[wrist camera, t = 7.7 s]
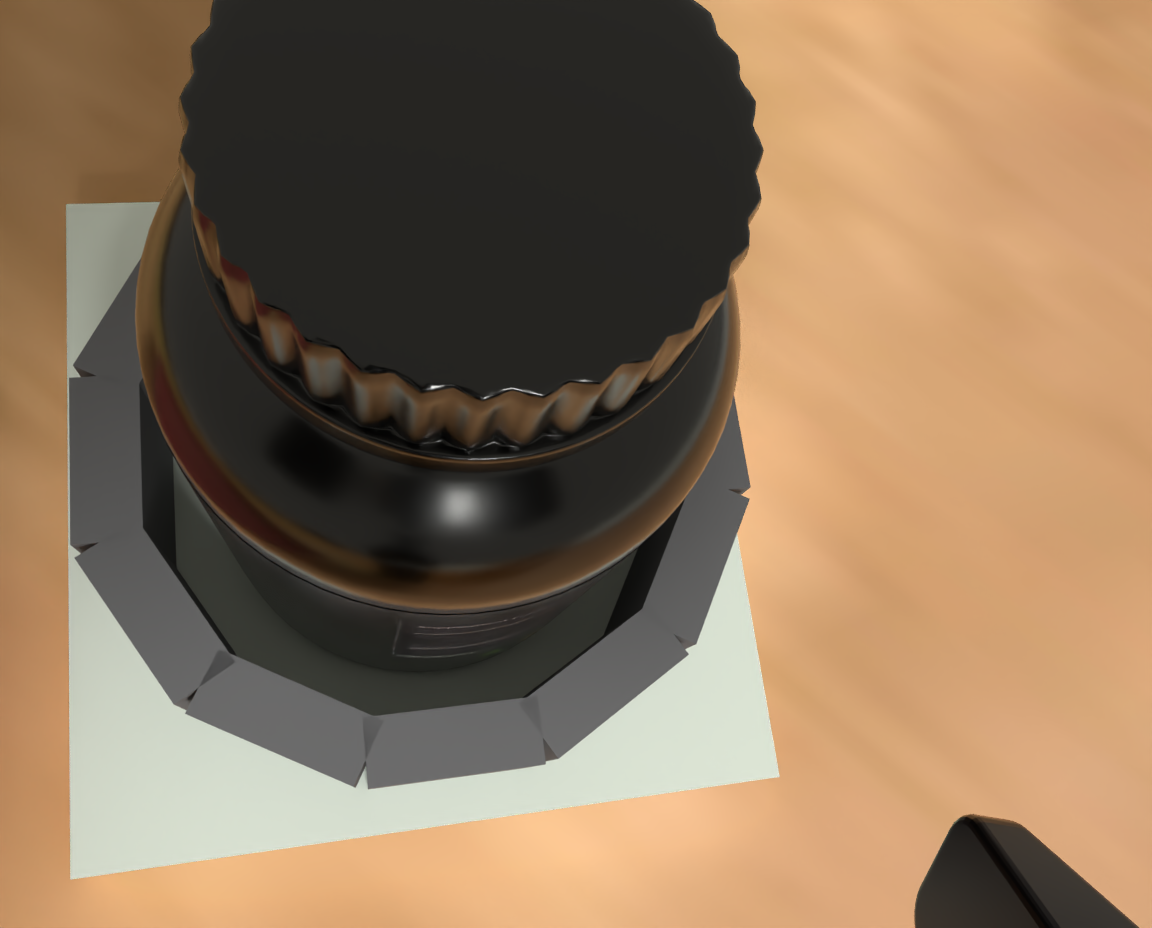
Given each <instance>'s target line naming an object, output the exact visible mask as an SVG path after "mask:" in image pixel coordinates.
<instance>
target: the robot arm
mask: <svg viewBox="0 0 1152 928" xmlns="http://www.w3.org/2000/svg"><path fill="white" fill-rule="evenodd" d="M915 928H1139V927H1138V926H1137V925H1136V924H1134V923H1133V922H1132V921H1131V920H1130V919H1129V918H1128V917H1126V916H1125V915H1124V914H1123V913H1122V912H1121V911H1120V910H1118V909H1117V908H1116V907H1115V906H1114V905H1113V904H1112V903H1110V902H1109V901H1108V900H1107V899H1106V898H1105V897H1104V896H1102V895H1101V894H1100V893H1099V892H1098V891H1097V890H1096V889H1094V888H1093V887H1092V886H1091V885H1090V884H1089V883H1088V882H1086V881H1085V880H1084V879H1083V878H1082V877H1081V876H1080V875H1078V874H1077V873H1076V872H1075V871H1074V870H1073V869H1072V868H1070V867H1069V866H1068V865H1067V864H1066V863H1065V862H1064V861H1062V860H1061V859H1060V858H1059V857H1058V856H1057V855H1056V854H1055V853H1053V852H1052V851H1051V850H1050V849H1049V848H1048V847H1047V846H1045V845H1044V844H1043V843H1042V842H1041V841H1040V840H1039V839H1037V838H1036V837H1035V836H1034V835H1033V834H1032V833H1031V832H1029V831H1028V830H1027V829H1026V828H1025V827H1023V826H1022V825H1020V824H1018V823H1016V822H1014V821H1010V820H1005V819H999V818H993V817H986V816H980V815H974V814H970V815H964V816H962V817H960V818H959V819H958V820H957V821H955V822H954V824H953V825H952V827H951V828H950V830H949V832H948V834H947V836H946V838H945V840H944V842H943V844H942V846H941V848H940V849H939V851H938V853H937V855H936V857H935V859H934V861H933V863H932V865H931V867H930V869H929V871H928V873H927V875H926V877H925V879H924V881H923V882H922V884H921V886H920V889H919V891H918V894H917V898H916V903H915Z"/></svg>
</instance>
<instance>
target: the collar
mask: <svg viewBox="0 0 1152 928" xmlns="http://www.w3.org/2000/svg"><path fill="white" fill-rule="evenodd" d="M140 262H141V258H140V260H139V262H138V263H137V265H136V266H135V268H134V269H133V271H132V273H131V274H130V276H129V277H128V279H127V280H126V282H125V284H124V285H123V287H122V288H121V290H120V292H119V293H118V295H117V296H116V298H115V299H114V301H113V303H112V304H111V306H110V307H109V309H108V310H107V312H106V314H105V315H104V317H103V318H102V320H101V321H100V323H99V325H98V326H97V328H96V329H95V331H94V332H93V334H92V336H91V337H90V339H89V340H88V342H87V343H86V345H85V347H84V348H83V350H82V351H81V353H80V355H79V356H78V358H77V359H76V361H75V362H74V364H73V366H74V368H75V369H76V371H77V372H78V374H79V375H80V377H72V378H69V445H70V545H71V546H72V547H73V548H75V549H76V550H77V551H78V552H79V553H81V554H80V555H78V556H76V557H75V560H76V561H77V563H78V564H79V566H80V567H81V569H82V570H83V572H84V573H85V575H86V576H87V577H88V579H89V580H90V582H91V583H92V585H93V586H94V588H95V589H96V591H97V592H98V594H99V595H100V597H101V598H102V600H103V601H104V603H105V604H106V605H107V607H108V608H109V610H110V611H111V613H112V614H113V616H114V617H115V619H116V620H117V622H118V623H119V625H120V626H121V628H122V629H123V631H124V632H125V634H126V635H127V636H128V638H129V639H130V641H131V642H132V644H133V645H134V647H135V648H136V650H137V651H138V653H139V654H140V656H141V657H142V659H143V660H144V662H145V663H146V664H147V666H148V667H149V669H150V670H151V672H152V673H153V675H154V676H155V678H156V679H157V681H158V682H159V684H160V685H161V687H162V688H163V690H164V691H165V693H166V694H167V695H168V697H169V698H170V700H171V701H172V703H173V704H174V705H176V706H178V707H180V708H182V709H184V710H186V712H185V714H187V715H189V716H191V717H193V718H196V719H198V720H200V721H202V722H205V723H207V724H209V725H212V726H214V727H216V728H218V729H221V730H223V731H225V732H228V733H230V734H232V735H235V736H237V737H239V738H242V739H244V740H246V741H248V742H251V743H253V744H255V745H258V746H260V747H262V748H265V749H267V750H269V751H272V752H274V753H276V754H278V755H281V756H283V757H285V758H288V759H290V760H292V761H295V762H297V763H299V764H302V765H304V766H306V767H309V768H311V769H313V770H315V771H318V772H320V773H322V774H325V775H327V776H329V777H332V778H334V779H336V780H339V781H341V782H343V783H345V784H348V785H350V786H352V787H355V788H356V786H357V784H358V782H359V780H360V778H361V775H362V773H363V771H364V769H365V767H366V771H367V784H368V789H376V788H383V787H390V786H398V785H405V784H413V783H420V782H427V781H435V780H442V779H449V778H457V777H464V776H471V775H479V774H486V773H493V772H501V771H508V770H515V769H522V768H528V767H534V766H540V765H545V764H546V761H550V760H556V759H559V758H560V757H562V756H563V755H564V754H565V753H567V752H568V751H569V750H570V749H572V748H573V747H574V746H575V745H577V744H578V743H579V742H580V741H582V740H583V739H584V738H585V737H587V736H588V735H589V734H590V733H592V732H593V731H594V730H595V729H597V728H598V727H599V726H600V725H602V724H603V723H604V722H605V721H607V720H608V719H609V718H610V717H612V716H613V715H614V714H615V713H617V712H618V711H619V710H620V709H622V708H623V707H624V706H625V705H627V704H628V703H629V702H630V701H632V700H633V699H634V698H635V697H637V696H638V695H639V694H640V693H642V692H643V691H644V690H645V689H647V688H648V687H649V686H650V685H652V684H653V683H654V682H655V681H657V680H658V679H659V678H660V677H662V676H663V675H664V674H665V673H667V672H668V671H669V670H670V669H671V668H673V667H674V666H675V665H676V664H678V663H679V662H680V661H681V660H683V659H684V658H685V657H686V656H688V655H689V654H688V652H687V651H686V650H685V649H687V648H689V647H691V646H693V645H696V644H697V641H698V638H699V636H700V633H701V630H702V627H703V625H704V622H705V619H706V617H707V614H708V611H709V608H710V606H711V603H712V600H713V597H714V595H715V592H716V589H717V587H718V584H719V581H720V578H721V576H722V573H723V570H724V567H725V565H726V562H727V559H728V556H729V554H730V551H731V548H732V546H733V543H734V540H735V537H736V535H737V532H738V529H739V526H740V524H741V521H742V518H743V515H744V513H745V510H746V507H747V505H748V502H749V499H748V498H746V497H744V496H742V495H741V494H743V493H744V492H745V491H746V490H748V489H749V488H750V482H749V476H748V471H747V465H746V460H745V454H744V449H743V443H742V438H741V432H740V427H739V421H738V416H737V410H736V404H735V399H734V395H733V400H732V404H731V407H730V411H729V414H728V417H727V420H726V424H725V427H724V430H723V432H722V434H721V437H720V439H719V441H718V444H717V446H716V448H715V451H714V453H713V455H712V456H711V458H710V460H709V462H708V464H707V465H706V467H705V469H704V471H703V473H702V474H701V476H700V478H699V479H698V480H697V482H696V483H695V485H694V486H693V487H692V489H691V490H690V492H689V493H688V494H687V496H686V497H685V499H684V500H683V501H682V503H681V504H680V505H679V506H678V507H677V508H676V510H675V511H674V512H673V513H672V514H671V515H670V516H669V518H668V519H667V520H666V521H665V522H664V523H663V524H662V526H661V527H660V528H659V529H658V530H657V531H656V532H655V533H654V534H653V535H652V536H651V537H650V538H648V539H647V540H646V541H645V542H644V543H643V544H642V545H641V546H640V547H639V548H638V550H637V552H636V555H635V557H634V560H633V562H632V565H631V567H630V570H629V572H628V575H627V577H626V580H625V582H624V585H623V587H622V590H621V592H620V595H619V597H618V600H617V602H616V605H615V607H614V610H613V612H612V615H611V617H610V620H609V622H608V625H607V627H606V630H605V632H604V635H603V636H602V637H601V638H599V639H598V640H597V641H595V642H594V643H593V644H591V645H590V646H589V647H588V648H586V649H585V650H584V651H582V652H581V653H580V654H578V655H577V656H576V657H575V658H573V659H572V660H571V661H569V662H568V663H567V664H565V665H564V666H563V667H561V668H560V669H559V670H558V671H556V672H555V673H554V674H552V675H551V676H550V677H548V678H547V679H546V680H545V681H543V682H542V683H541V684H539V685H538V686H537V687H535V688H534V689H533V690H532V691H530V692H529V693H528V694H526V695H525V696H524V697H522V698H518V699H510V700H502V701H494V702H486V703H477V704H469V705H461V706H453V707H445V708H437V709H428V710H420V711H412V712H404V713H396V714H387V715H379V716H372V715H370V714H367V713H365V712H363V711H361V710H358V709H356V708H354V707H351V706H349V705H347V704H345V703H342V702H340V701H338V700H335V699H333V698H331V697H328V696H326V695H324V694H322V693H319V692H317V691H315V690H312V689H310V688H308V687H306V686H303V685H301V684H299V683H296V682H294V681H292V680H290V679H287V678H285V677H283V676H280V675H278V674H276V673H274V672H271V671H269V670H267V669H264V668H262V667H260V666H257V665H255V664H253V663H251V662H248V661H246V660H244V659H241V658H239V657H238V656H237V655H236V653H235V652H234V650H233V649H232V647H231V646H230V644H229V643H228V642H227V640H226V639H225V637H224V636H223V634H222V633H221V631H220V630H219V629H218V627H217V626H216V624H215V623H214V621H213V620H212V618H211V617H210V616H209V614H208V613H207V611H206V610H205V608H204V607H203V605H202V604H201V603H200V601H199V600H198V598H197V597H196V595H195V594H194V592H193V591H192V590H191V588H190V587H189V585H188V584H187V582H186V581H185V579H184V578H183V577H182V575H181V574H180V572H179V571H178V569H177V565H176V535H175V505H174V475H173V455H172V453H171V451H170V449H169V447H168V446H167V443H166V441H165V439H164V436H163V434H162V432H161V429H160V427H159V424H158V422H157V420H156V417H155V415H154V412H153V410H152V407H151V404H150V400H149V397H148V394H147V390H146V387H145V384H144V380H143V377H142V372H141V367H140V361H139V355H138V350H137V340H136V325H135V307H136V288H137V281H138V275H139V268H140Z"/></svg>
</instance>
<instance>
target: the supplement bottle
mask: <svg viewBox="0 0 1152 928" xmlns="http://www.w3.org/2000/svg"><path fill="white" fill-rule="evenodd" d="M190 65H191V74H192V77H191V79H190V80H189V82H188V83H187V84H186V85H185V87H184V89H183V91H182V93H181V95H180V97H179V105H178V109H179V114H180V118H181V122H182V126H183V129H184V133H185V134H184V136H183V140H182V144H181V148H180V152H179V166H180V168H179V169H178V171H177V172H176V174H175V175H174V177H173V179H172V181H171V183H170V184H169V186H168V188H167V190H166V192H165V194H164V196H163V198H162V199H161V201H160V203H159V206H158V208H157V211H156V213H155V215H154V218H153V220H152V223H151V225H150V228H149V231H148V235H147V238H146V242H145V245H144V249H143V252H142V256H141V262H140V268H139V275H138V281H137V288H136V307H135V325H136V340H137V350H138V355H139V361H140V367H141V372H142V377H143V380H144V384H145V387H146V390H147V394H148V397H149V400H150V404H151V407H152V410H153V412H154V415H155V417H156V420H157V422H158V424H159V427H160V429H161V432H162V434H163V436H164V439H165V441H166V443H167V446H168V447H169V449H170V451H171V453H172V455H173V457H174V458H175V460H176V462H177V464H178V466H179V467H180V469H181V471H182V473H183V475H184V476H185V478H186V480H187V481H188V483H189V484H190V486H191V488H192V489H193V491H194V493H195V494H196V496H197V497H198V499H199V501H200V502H201V504H202V505H203V507H204V509H205V510H206V512H207V513H208V515H209V517H210V518H211V520H212V522H213V523H214V525H215V526H216V528H217V530H218V531H219V533H220V534H221V536H222V538H223V539H224V541H225V542H226V544H227V546H228V547H229V549H230V550H231V552H232V554H233V555H234V557H235V559H236V560H237V562H238V563H239V565H240V567H241V568H242V570H243V571H244V573H245V574H246V576H247V577H248V579H249V580H250V582H251V583H252V584H253V586H254V587H255V589H256V590H257V591H258V592H259V594H260V595H261V596H262V598H263V599H264V600H265V601H266V602H267V603H268V605H269V606H270V607H271V608H272V609H273V610H274V612H275V613H276V614H278V615H279V616H280V617H281V618H282V619H283V620H284V621H285V622H286V623H287V624H288V625H289V626H291V627H292V628H293V629H295V630H296V631H297V632H298V633H300V634H301V635H302V636H304V637H305V638H307V639H308V640H310V641H312V642H313V643H315V644H316V645H318V646H320V647H321V648H323V649H325V650H328V651H330V652H332V653H334V654H336V655H338V656H340V657H343V658H346V659H348V660H351V661H354V662H357V663H360V664H364V665H367V666H371V667H375V668H380V669H387V670H394V671H406V672H427V671H440V670H447V669H454V668H459V667H463V666H467V665H471V664H475V663H478V662H480V661H483V660H486V659H489V658H492V657H494V656H496V655H498V654H500V653H503V652H505V651H507V650H509V649H511V648H513V647H514V646H516V645H518V644H519V643H521V642H523V641H524V640H526V639H527V638H529V637H530V636H532V635H533V634H535V633H536V632H538V631H539V630H540V629H542V628H543V627H544V626H546V625H547V624H548V623H550V622H551V621H552V620H553V619H554V618H556V617H557V616H558V615H559V614H560V613H562V612H563V611H564V610H565V609H566V608H568V607H569V606H570V605H571V604H572V603H574V602H575V601H576V600H577V599H578V598H580V597H581V596H582V595H583V594H584V593H586V592H587V591H588V590H589V589H590V588H592V587H593V586H594V585H595V584H596V583H597V582H599V581H600V580H601V579H602V578H603V577H605V576H606V575H607V574H608V573H609V572H611V571H612V570H613V569H614V568H615V567H617V566H618V565H619V564H620V563H621V562H623V561H624V560H625V559H626V558H627V557H629V556H630V555H631V554H632V553H633V552H634V551H635V550H637V549H638V548H639V547H640V546H641V545H642V544H643V543H644V542H645V541H646V540H647V539H648V538H650V537H651V536H652V535H653V534H654V533H655V532H656V531H657V530H658V529H659V528H660V527H661V526H662V524H663V523H664V522H665V521H666V520H667V519H668V518H669V516H670V515H671V514H672V513H673V512H674V511H675V510H676V508H677V507H678V506H679V505H680V504H681V503H682V501H683V500H684V499H685V497H686V496H687V494H688V493H689V492H690V490H691V489H692V487H693V486H694V485H695V483H696V482H697V480H698V479H699V478H700V476H701V474H702V473H703V471H704V469H705V467H706V465H707V464H708V462H709V460H710V458H711V456H712V455H713V453H714V451H715V448H716V446H717V444H718V441H719V439H720V437H721V434H722V432H723V430H724V427H725V424H726V420H727V417H728V414H729V411H730V407H731V404H732V400H733V395H734V390H735V385H736V380H737V375H738V367H739V356H740V316H739V307H738V298H737V290H736V285H735V281H734V276H733V274H734V273H735V272H736V270H737V269H738V267H739V266H740V265H741V263H742V262H743V260H744V259H745V257H746V255H747V252H748V249H749V237H750V231H749V227H748V225H749V224H750V222H751V220H752V219H753V217H754V216H755V214H756V212H757V211H758V209H759V206H760V203H761V193H760V187H759V183H758V179H757V176H756V172H757V170H758V167H759V164H760V161H761V158H762V155H763V147H762V145H761V142H760V139H759V137H758V135H757V134H756V132H755V130H754V127H753V121H754V116H755V107H756V101H755V100H754V98H753V96H752V95H751V93H750V91H749V90H748V89H747V88H746V87H745V86H744V84H743V82H742V81H741V79H740V74H739V72H740V65H739V60H738V55H737V54H736V53H735V52H734V51H733V50H732V49H731V48H730V46H729V45H728V44H726V43H725V42H724V41H723V40H722V39H721V38H720V37H719V36H718V34H717V31H716V26H715V23H714V20H713V18H712V15H711V13H710V12H709V11H707V10H706V9H705V8H704V7H702V6H701V5H700V4H698V3H697V2H696V1H694V0H213V3H212V8H211V13H210V26H209V27H208V28H207V29H206V31H205V32H204V33H202V34H201V35H200V36H199V37H198V38H197V40H196V41H195V42H194V43H193V45H192V46H191V49H190Z"/></svg>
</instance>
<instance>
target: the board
mask: <svg viewBox="0 0 1152 928" xmlns="http://www.w3.org/2000/svg"><path fill="white" fill-rule="evenodd" d="M159 203H160V202H134V203H91V204H66V272H67V427H68V583H69V739H70V880H71V879H78V878H85V877H92V876H99V875H105V874H112V873H119V872H126V871H133V870H140V869H147V868H154V867H161V866H168V865H174V864H181V863H188V862H195V861H202V860H209V859H216V858H223V857H230V856H237V855H243V854H250V853H257V852H264V851H271V850H278V849H285V848H292V847H299V846H306V845H312V844H319V843H326V842H333V841H340V840H347V839H354V838H361V837H368V836H375V835H381V834H388V833H395V832H402V831H409V830H416V829H423V828H430V827H437V826H444V825H450V824H457V823H464V822H471V821H478V820H485V819H492V818H499V817H506V816H512V815H519V814H526V813H533V812H540V811H547V810H554V809H561V808H568V807H575V806H581V805H588V804H595V803H602V802H609V801H616V800H623V799H630V798H637V797H644V796H650V795H657V794H664V793H671V792H678V791H685V790H692V789H699V788H706V787H713V786H719V785H726V784H733V783H740V782H747V781H754V780H761V779H768V778H775V777H780V776H779V771H778V765H777V759H776V753H775V748H774V742H773V736H772V731H771V725H770V719H769V714H768V708H767V702H766V696H765V691H764V685H763V679H762V674H761V668H760V662H759V656H758V651H757V645H756V639H755V634H754V628H753V622H752V617H751V611H750V605H749V599H748V594H747V588H746V582H745V577H744V571H743V565H742V560H741V554H740V548H739V542H738V537H737V535H736V537H735V540H734V543H733V546H732V548H731V551H730V554H729V556H728V559H727V562H726V565H725V567H724V570H723V573H722V576H721V578H720V581H719V584H718V587H717V589H716V592H715V595H714V597H713V600H712V603H711V606H710V608H709V611H708V614H707V617H706V619H705V622H704V625H703V627H702V630H701V633H700V636H699V638H698V641H697V644H696V645H693V646H691V647H689V648H687V649H685V650H686V651H687V652H688V654H689V655H688V656H686V657H685V658H684V659H683V660H681V661H680V662H679V663H678V664H676V665H675V666H674V667H673V668H671V669H670V670H669V671H668V672H667V673H665V674H664V675H663V676H662V677H660V678H659V679H658V680H657V681H655V682H654V683H653V684H652V685H650V686H649V687H648V688H647V689H645V690H644V691H643V692H642V693H640V694H639V695H638V696H637V697H635V698H634V699H633V700H632V701H630V702H629V703H628V704H627V705H625V706H624V707H623V708H622V709H620V710H619V711H618V712H617V713H615V714H614V715H613V716H612V717H610V718H609V719H608V720H607V721H605V722H604V723H603V724H602V725H600V726H599V727H598V728H597V729H595V730H594V731H593V732H592V733H590V734H589V735H588V736H587V737H585V738H584V739H583V740H582V741H580V742H579V743H578V744H577V745H575V746H574V747H573V748H572V749H570V750H569V751H568V752H567V753H565V754H564V755H563V756H562V757H560V758H559V759H556V760H550V761H546V764H545V765H540V766H534V767H528V768H522V769H515V770H508V771H501V772H493V773H486V774H479V775H471V776H464V777H457V778H449V779H442V780H435V781H427V782H420V783H413V784H405V785H398V786H390V787H383V788H376V789H368V784H367V771H366V767H365V769H364V771H363V773H362V775H361V778H360V780H359V782H358V784H357V786H356V788H355V787H352V786H350V785H348V784H345V783H343V782H341V781H339V780H336V779H334V778H332V777H329V776H327V775H325V774H322V773H320V772H318V771H315V770H313V769H311V768H309V767H306V766H304V765H302V764H299V763H297V762H295V761H292V760H290V759H288V758H285V757H283V756H281V755H278V754H276V753H274V752H272V751H269V750H267V749H265V748H262V747H260V746H258V745H255V744H253V743H251V742H248V741H246V740H244V739H242V738H239V737H237V736H235V735H232V734H230V733H228V732H225V731H223V730H221V729H218V728H216V727H214V726H212V725H209V724H207V723H205V722H202V721H200V720H198V719H196V718H193V717H191V716H189V715H187V714H185V712H186V710H184V709H182V708H180V707H178V706H176V705H174V704H173V703H172V701H171V700H170V698H169V697H168V695H167V694H166V693H165V691H164V690H163V688H162V687H161V685H160V684H159V682H158V681H157V679H156V678H155V676H154V675H153V673H152V672H151V670H150V669H149V667H148V666H147V664H146V663H145V662H144V660H143V659H142V657H141V656H140V654H139V653H138V651H137V650H136V648H135V647H134V645H133V644H132V642H131V641H130V639H129V638H128V636H127V635H126V634H125V632H124V631H123V629H122V628H121V626H120V625H119V623H118V622H117V620H116V619H115V617H114V616H113V614H112V613H111V611H110V610H109V608H108V607H107V605H106V604H105V603H104V601H103V600H102V598H101V597H100V595H99V594H98V592H97V591H96V589H95V588H94V586H93V585H92V583H91V582H90V580H89V579H88V577H87V576H86V575H85V573H84V572H83V570H82V569H81V567H80V566H79V564H78V563H77V561H76V560H75V557H76V556H78V555H80V554H81V553H79V552H78V551H77V550H76V549H75V548H73V547H72V546H71V545H70V445H69V378H72V377H80V375H79V374H78V372H77V371H76V369H75V368H74V366H73V364H74V362H75V361H76V359H77V358H78V356H79V355H80V353H81V351H82V350H83V348H84V347H85V345H86V343H87V342H88V340H89V339H90V337H91V336H92V334H93V332H94V331H95V329H96V328H97V326H98V325H99V323H100V321H101V320H102V318H103V317H104V315H105V314H106V312H107V310H108V309H109V307H110V306H111V304H112V303H113V301H114V299H115V298H116V296H117V295H118V293H119V292H120V290H121V288H122V287H123V285H124V284H125V282H126V280H127V279H128V277H129V276H130V274H131V273H132V271H133V269H134V268H135V266H136V265H137V263H138V262H139V260H140V258H141V256H142V252H143V249H144V245H145V242H146V238H147V235H148V231H149V228H150V225H151V223H152V220H153V218H154V215H155V213H156V211H157V208H158V206H159ZM173 475H174V505H175V535H176V565H177V569H178V571H179V572H180V574H181V575H182V577H183V578H184V579H185V581H186V582H187V584H188V585H189V587H190V588H191V590H192V591H193V592H194V594H195V595H196V597H197V598H198V600H199V601H200V603H201V604H202V605H203V607H204V608H205V610H206V611H207V613H208V614H209V616H210V617H211V618H212V620H213V621H214V623H215V624H216V626H217V627H218V629H219V630H220V631H221V633H222V634H223V636H224V637H225V639H226V640H227V642H228V643H229V644H230V646H231V647H232V649H233V650H234V652H235V653H236V655H237V656H238V657H239V658H241V659H244V660H246V661H248V662H251V663H253V664H255V665H257V666H260V667H262V668H264V669H267V670H269V671H271V672H274V673H276V674H278V675H280V676H283V677H285V678H287V679H290V680H292V681H294V682H296V683H299V684H301V685H303V686H306V687H308V688H310V689H312V690H315V691H317V692H319V693H322V694H324V695H326V696H328V697H331V698H333V699H335V700H338V701H340V702H342V703H345V704H347V705H349V706H351V707H354V708H356V709H358V710H361V711H363V712H365V713H367V714H370V715H372V716H379V715H387V714H396V713H404V712H412V711H420V710H428V709H437V708H445V707H453V706H461V705H469V704H477V703H486V702H494V701H502V700H510V699H518V698H522V697H524V696H525V695H526V694H528V693H529V692H530V691H532V690H533V689H534V688H535V687H537V686H538V685H539V684H541V683H542V682H543V681H545V680H546V679H547V678H548V677H550V676H551V675H552V674H554V673H555V672H556V671H558V670H559V669H560V668H561V667H563V666H564V665H565V664H567V663H568V662H569V661H571V660H572V659H573V658H575V657H576V656H577V655H578V654H580V653H581V652H582V651H584V650H585V649H586V648H588V647H589V646H590V645H591V644H593V643H594V642H595V641H597V640H598V639H599V638H601V637H602V636H603V635H604V632H605V630H606V627H607V625H608V622H609V620H610V617H611V615H612V612H613V610H614V607H615V605H616V602H617V600H618V597H619V595H620V592H621V590H622V587H623V585H624V582H625V580H626V577H627V575H628V572H629V570H630V567H631V565H632V562H633V560H634V557H635V555H636V552H637V550H638V549H637V550H635V551H634V552H633V553H632V554H631V555H630V556H629V557H627V558H626V559H625V560H624V561H623V562H621V563H620V564H619V565H618V566H617V567H615V568H614V569H613V570H612V571H611V572H609V573H608V574H607V575H606V576H605V577H603V578H602V579H601V580H600V581H599V582H597V583H596V584H595V585H594V586H593V587H592V588H590V589H589V590H588V591H587V592H586V593H584V594H583V595H582V596H581V597H580V598H578V599H577V600H576V601H575V602H574V603H572V604H571V605H570V606H569V607H568V608H566V609H565V610H564V611H563V612H562V613H560V614H559V615H558V616H557V617H556V618H554V619H553V620H552V621H551V622H550V623H548V624H547V625H546V626H544V627H543V628H542V629H540V630H539V631H538V632H536V633H535V634H533V635H532V636H530V637H529V638H527V639H526V640H524V641H523V642H521V643H519V644H518V645H516V646H514V647H513V648H511V649H509V650H507V651H505V652H503V653H500V654H498V655H496V656H494V657H492V658H489V659H486V660H483V661H480V662H478V663H475V664H471V665H467V666H463V667H459V668H454V669H447V670H440V671H427V672H406V671H394V670H387V669H380V668H375V667H371V666H367V665H364V664H360V663H357V662H354V661H351V660H348V659H346V658H343V657H340V656H338V655H336V654H334V653H332V652H330V651H328V650H325V649H323V648H321V647H320V646H318V645H316V644H315V643H313V642H312V641H310V640H308V639H307V638H305V637H304V636H302V635H301V634H300V633H298V632H297V631H296V630H295V629H293V628H292V627H291V626H289V625H288V624H287V623H286V622H285V621H284V620H283V619H282V618H281V617H280V616H279V615H278V614H276V613H275V612H274V610H273V609H272V608H271V607H270V606H269V605H268V603H267V602H266V601H265V600H264V599H263V598H262V596H261V595H260V594H259V592H258V591H257V590H256V589H255V587H254V586H253V584H252V583H251V582H250V580H249V579H248V577H247V576H246V574H245V573H244V571H243V570H242V568H241V567H240V565H239V563H238V562H237V560H236V559H235V557H234V555H233V554H232V552H231V550H230V549H229V547H228V546H227V544H226V542H225V541H224V539H223V538H222V536H221V534H220V533H219V531H218V530H217V528H216V526H215V525H214V523H213V522H212V520H211V518H210V517H209V515H208V513H207V512H206V510H205V509H204V507H203V505H202V504H201V502H200V501H199V499H198V497H197V496H196V494H195V493H194V491H193V489H192V488H191V486H190V484H189V483H188V481H187V480H186V478H185V476H184V475H183V473H182V471H181V469H180V467H179V466H178V464H177V462H176V460H175V458H174V457H173Z"/></svg>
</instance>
